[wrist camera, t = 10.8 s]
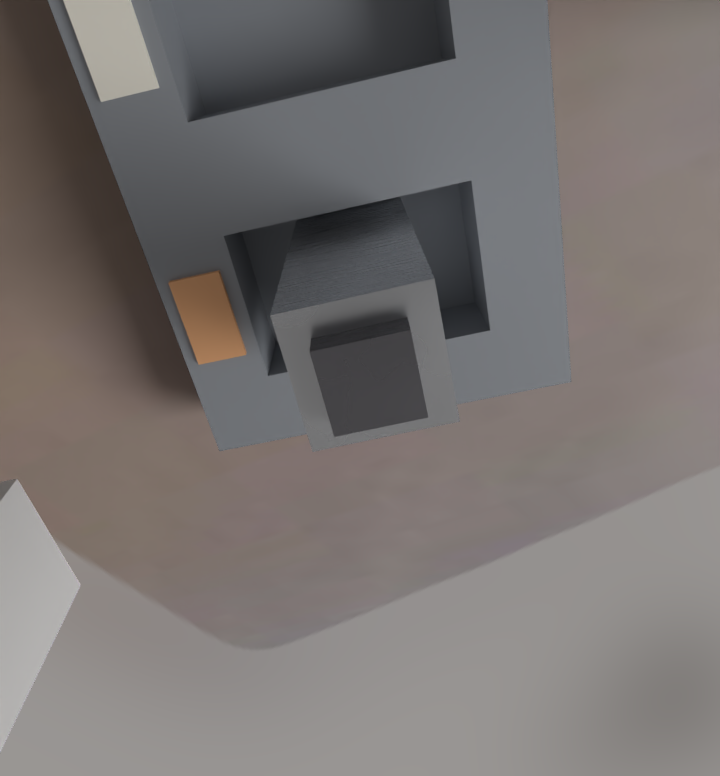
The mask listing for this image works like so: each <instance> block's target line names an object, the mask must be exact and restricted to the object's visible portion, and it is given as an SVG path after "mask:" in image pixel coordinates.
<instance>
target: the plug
mask: <svg viewBox="0 0 720 776" xmlns="http://www.w3.org/2000/svg"><path fill="white" fill-rule="evenodd" d="M270 317H271V320H272V324H273V327H274V330H275V333H276V336H277V340H278V343H279V346H280V349H281V352H282V355H283V359H284V362H285V365H286V368H287V371H288V375H289V378H290V381H291V384H292V387H293V391H294V394H295V397H296V400H297V403H298V407H299V410H300V413H301V416H302V419H303V423H304V426H305V429H306V432H307V435H308V438H309V442H310V445H311V448H312V451H313V452H314V451H319V450H324V449H328V448H333V447H338V446H343V445H348V444H353V443H358V442H362V441H367V440H372V439H377V438H382V437H387V436H392V435H397V434H401V433H406V432H411V431H416V430H421V429H426V428H431V427H435V426H440V425H445V424H450V423H455V422H460V420H459V414H458V408H457V403H456V397H455V391H454V386H453V380H452V374H451V369H450V363H449V357H448V352H447V346H446V340H445V335H444V329H443V323H442V318H441V312H440V306H439V301H438V295H437V290H436V284H435V278H434V276H433V274H432V271H431V269H430V267H429V264H428V262H427V260H426V257H425V255H424V252H423V250H422V248H421V245H420V243H419V241H418V238H417V236H416V233H415V231H414V229H413V226H412V224H411V222H410V219H409V217H408V215H407V212H406V210H405V207H404V205H403V203H402V200H401V198H400V197H395V198H391V199H386V200H382V201H377V202H373V203H368V204H364V205H359V206H355V207H351V208H346V209H342V210H338V211H334V212H330V213H325V214H321V215H317V216H313V217H308V218H304V219H300V220H296V224H295V228H294V231H293V235H292V238H291V242H290V246H289V249H288V253H287V256H286V260H285V263H284V267H283V271H282V274H281V278H280V281H279V285H278V289H277V292H276V296H275V299H274V303H273V307H272V310H271V314H270Z"/></svg>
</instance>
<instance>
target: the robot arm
mask: <svg viewBox="0 0 720 776" xmlns="http://www.w3.org/2000/svg"><path fill="white" fill-rule="evenodd" d="M80 586H81V585H80V583H79V581H78V580H77V578H76V576H75V575H74V573H73V572H72V569H71V568H70V566H69V564H68V563H67V561H66V559H65V558H64V556H63V555H62V553H61V551H60V549H59V548H58V546H57V544H56V543H55V541H54V539H53V538H52V536H51V534H50V533H49V531H48V529H47V528H46V526H45V524H44V523H43V521H42V519H41V518H40V516H39V514H38V513H37V511H36V509H35V508H34V506H33V504H32V503H31V501H30V499H29V498H28V496H27V494H26V493H25V491H24V489H23V488H22V486H21V484H20V483H19V481H18V479H13V480H8V481H3V482H0V752H1V750H2V748H3V745H4V743H5V741H6V739H7V737H8V735H9V733H10V731H11V729H12V727H13V725H14V723H15V721H16V718H17V716H18V714H19V712H20V710H21V708H22V706H23V704H24V702H25V700H26V698H27V696H28V693H29V692H30V689H31V687H32V685H33V683H34V681H35V679H36V677H37V675H38V673H39V671H40V669H41V667H42V665H43V662H44V660H45V658H46V656H47V654H48V652H49V650H50V648H51V646H52V644H53V642H54V640H55V638H56V635H57V633H58V631H59V629H60V627H61V625H62V623H63V621H64V619H65V617H66V615H67V613H68V611H69V608H70V606H71V604H72V602H73V600H74V598H75V596H76V594H77V592H78V590H79V588H80Z"/></svg>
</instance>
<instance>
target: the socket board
mask: <svg viewBox="0 0 720 776" xmlns="http://www.w3.org/2000/svg"><path fill="white" fill-rule="evenodd" d="M48 3H49V5H50V8H51V11H52V13H53V16H54V18H55V21H56V24H57V26H58V29H59V32H60V34H61V37H62V39H63V42H64V45H65V47H66V50H67V52H68V55H69V58H70V60H71V63H72V66H73V68H74V71H75V73H76V76H77V79H78V81H79V84H80V87H81V89H82V92H83V94H84V97H85V100H86V102H87V105H88V108H89V110H90V113H91V115H92V118H93V121H94V123H95V126H96V128H97V131H98V134H99V136H100V139H101V142H102V144H103V147H104V149H105V152H106V155H107V157H108V160H109V163H110V165H111V168H112V170H113V173H114V176H115V178H116V181H117V184H118V186H119V189H120V191H121V194H122V197H123V199H124V202H125V204H126V207H127V210H128V212H129V215H130V218H131V220H132V223H133V225H134V228H135V231H136V233H137V236H138V239H139V241H140V244H141V246H142V249H143V252H144V254H145V257H146V259H147V262H148V265H149V267H150V270H151V273H152V275H153V278H154V280H155V283H156V286H157V288H158V291H159V294H160V296H161V299H162V301H163V304H164V307H165V309H166V312H167V315H168V317H169V320H170V322H171V325H172V328H173V330H174V333H175V335H176V338H177V341H178V343H179V346H180V349H181V351H182V354H183V356H184V359H185V362H186V364H187V367H188V370H189V372H190V375H191V377H192V380H193V383H194V385H195V388H196V391H197V393H198V396H199V398H200V401H201V404H202V406H203V409H204V411H205V414H206V417H207V419H208V422H209V425H210V427H211V430H212V432H213V435H214V438H215V440H216V443H217V446H218V448H219V451H223V450H228V449H233V448H238V447H243V446H249V445H254V444H259V443H264V442H269V441H274V440H279V439H284V438H289V437H294V436H299V435H304V434H307V432H306V429H305V426H304V423H303V419H302V416H301V413H300V410H299V407H298V403H297V400H296V397H295V394H294V391H293V387H292V384H291V381H290V378H289V375H288V371H287V368H286V365H285V362H284V359H283V355H282V352H281V349H280V346H279V343H278V340H277V336H276V333H275V330H274V327H273V324H272V320H271V317H270V314H271V310H272V307H273V303H274V299H275V296H276V292H277V289H278V285H279V281H280V278H281V274H282V271H283V267H284V263H285V260H286V256H287V253H288V249H289V246H290V242H291V238H292V235H293V231H294V228H295V224H296V220H300V219H304V218H308V217H313V216H317V215H321V214H325V213H330V212H334V211H338V210H342V209H346V208H351V207H355V206H359V205H364V204H368V203H373V202H377V201H382V200H386V199H391V198H395V197H400V198H401V200H402V203H403V205H404V207H405V210H406V212H407V215H408V217H409V219H410V222H411V224H412V226H413V229H414V231H415V233H416V236H417V238H418V241H419V243H420V245H421V248H422V250H423V252H424V255H425V257H426V260H427V262H428V264H429V267H430V269H431V271H432V274H433V276H434V278H435V284H436V290H437V295H438V301H439V306H440V312H441V318H442V323H443V329H444V335H445V340H446V346H447V352H448V357H449V363H450V369H451V374H452V380H453V386H454V391H455V397H456V403H457V404H461V403H466V402H472V401H477V400H482V399H487V398H492V397H497V396H502V395H507V394H512V393H517V392H522V391H527V390H532V389H537V388H542V387H548V386H553V385H558V384H563V383H568V382H571V369H570V353H569V337H568V321H567V305H566V290H565V274H564V258H563V242H562V226H561V210H560V194H559V178H558V163H557V147H556V131H555V115H554V99H553V83H552V67H551V51H550V36H549V20H548V4H547V0H48Z"/></svg>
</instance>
